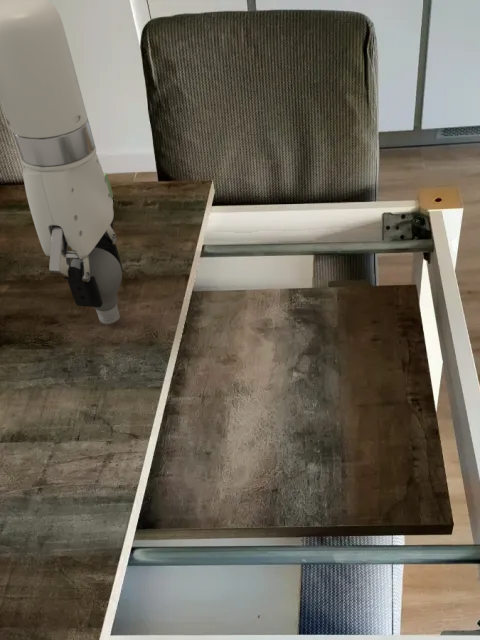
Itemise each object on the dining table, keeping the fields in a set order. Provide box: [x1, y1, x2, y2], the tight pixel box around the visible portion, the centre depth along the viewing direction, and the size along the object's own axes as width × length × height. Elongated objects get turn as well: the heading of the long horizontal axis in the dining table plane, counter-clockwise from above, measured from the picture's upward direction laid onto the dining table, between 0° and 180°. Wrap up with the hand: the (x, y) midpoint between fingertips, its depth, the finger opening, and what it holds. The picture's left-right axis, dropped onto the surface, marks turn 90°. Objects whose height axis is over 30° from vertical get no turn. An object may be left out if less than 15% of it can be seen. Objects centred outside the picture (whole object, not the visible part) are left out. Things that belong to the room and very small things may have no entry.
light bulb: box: [71, 248, 123, 325], centre depth 80 cm, size 6×6×10 cm
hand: (100, 287), depth 80 cm, fingers closed on light bulb, 6 cm apart
